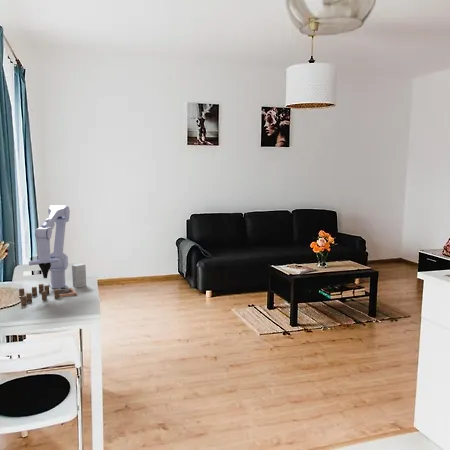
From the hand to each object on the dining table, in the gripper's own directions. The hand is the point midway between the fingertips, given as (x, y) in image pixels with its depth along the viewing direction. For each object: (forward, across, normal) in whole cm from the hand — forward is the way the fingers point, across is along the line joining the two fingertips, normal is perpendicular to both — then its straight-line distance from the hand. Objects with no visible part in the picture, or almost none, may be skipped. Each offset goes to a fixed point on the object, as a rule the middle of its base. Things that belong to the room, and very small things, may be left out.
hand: (45, 277), depth 239 cm
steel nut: (+10, +8, 0) cm, 13 cm away
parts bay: (+10, +9, 0) cm, 13 cm away
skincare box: (+10, +19, +11) cm, 24 cm away
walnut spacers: (+10, -5, 0) cm, 11 cm away
